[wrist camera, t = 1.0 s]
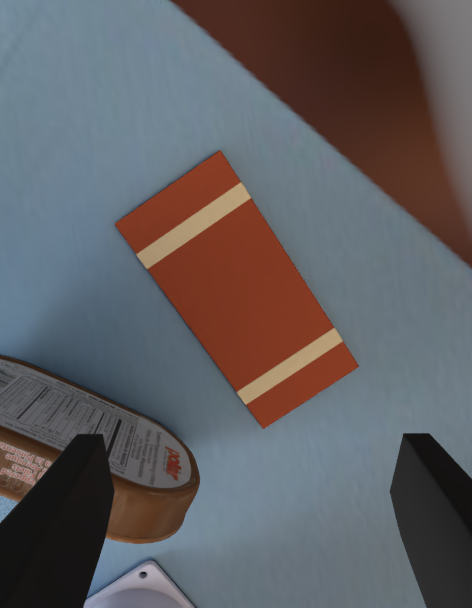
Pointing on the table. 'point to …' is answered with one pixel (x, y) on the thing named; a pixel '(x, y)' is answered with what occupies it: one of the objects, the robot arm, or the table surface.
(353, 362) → the towel
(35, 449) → the tin
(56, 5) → the table surface
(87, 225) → the table surface
